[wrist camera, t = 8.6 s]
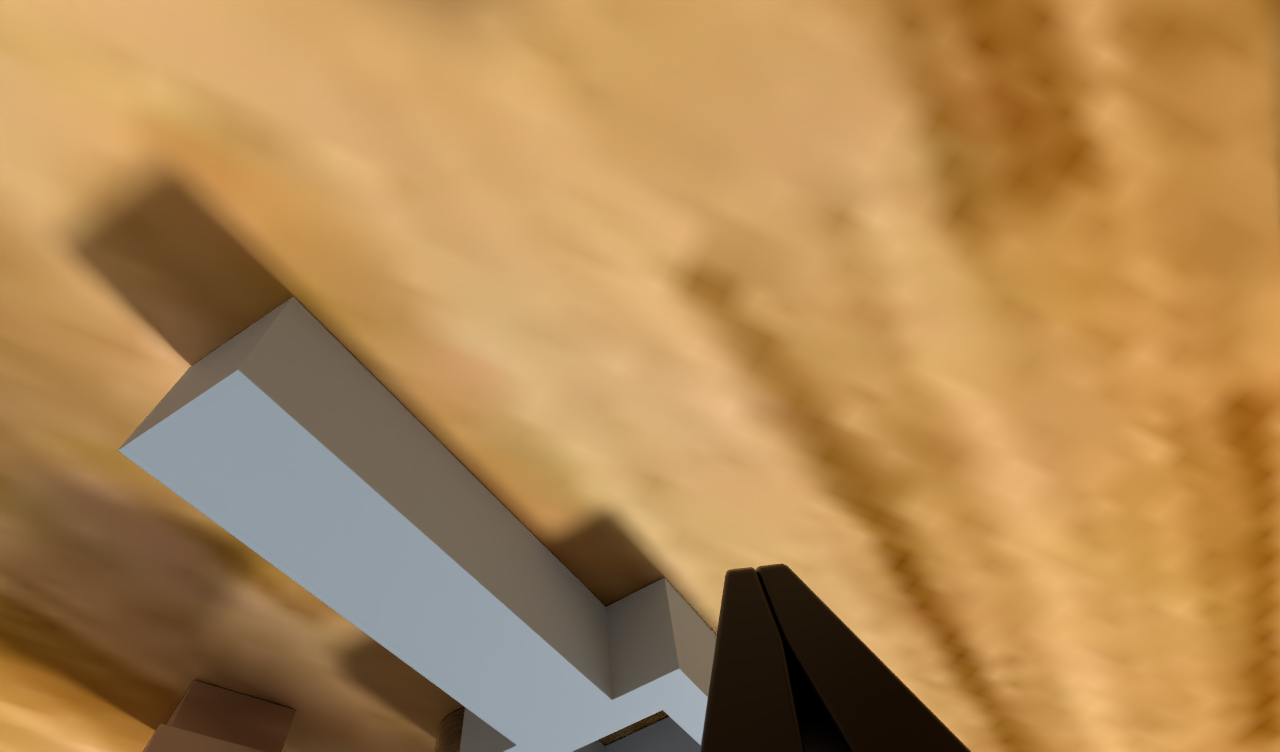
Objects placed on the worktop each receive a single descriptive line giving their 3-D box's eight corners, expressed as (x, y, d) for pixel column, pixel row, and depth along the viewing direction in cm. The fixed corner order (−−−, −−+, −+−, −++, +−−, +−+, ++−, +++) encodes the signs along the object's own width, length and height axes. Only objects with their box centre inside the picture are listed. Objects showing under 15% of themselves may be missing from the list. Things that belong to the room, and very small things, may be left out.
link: (770, 695, 24) (795, 786, 21) (595, 774, 25) (599, 867, 23) (366, 245, 15) (325, 311, 12) (126, 410, 16) (43, 500, 13)
